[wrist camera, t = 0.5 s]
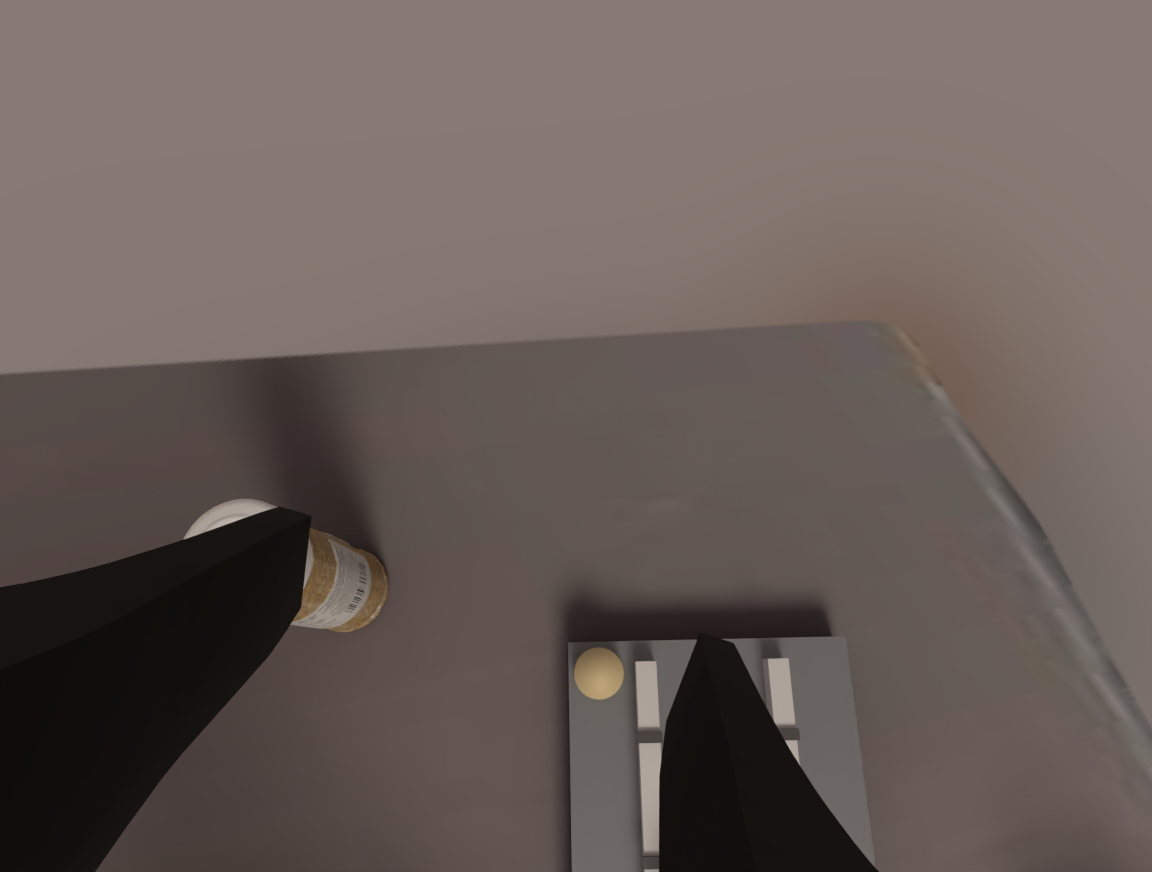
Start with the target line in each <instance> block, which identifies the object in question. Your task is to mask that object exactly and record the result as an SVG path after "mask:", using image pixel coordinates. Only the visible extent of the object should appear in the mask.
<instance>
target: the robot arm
mask: <svg viewBox="0 0 1152 872" xmlns="http://www.w3.org/2000/svg"><path fill="white" fill-rule="evenodd" d="M310 524H311V516H310V515H306V514H303V513H300V512H296V511H293V510H290V509H286V508H283V507H277V508H273V509H270V510H266V511H263V512H260V513H257V514H254V515H252V516H249V517H246V518H243V519H240V520H237V521H235V522H232V523H229V524H226V525H224V526H221V527H218V528H215V529H212V530H210V531H207V532H204V533H201V534H198V535H195V536H192V537H190V538H187V539H184V540H181V541H178V542H175V543H172V544H169V545H166V546H163V547H160V548H156V549H153V550H150V551H147V552H144V553H140V554H137V555H134V556H131V557H127V558H124V559H121V560H118V561H115V562H111V563H108V564H104V565H100V566H97V567H93V568H89V569H85V570H81V571H77V572H73V573H69V574H64V575H60V576H56V577H51V578H47V579H43V580H38V581H33V582H28V583H23V584H17V585H11V586H6V587H0V872H95V871H96V870H97V868H98V867H99V865H100V864H101V863H102V861H103V860H104V858H105V857H106V855H107V854H108V852H109V851H110V850H111V848H112V847H113V845H114V844H115V842H116V841H117V840H118V838H119V837H120V835H121V834H122V832H123V831H124V830H125V828H126V827H127V825H128V824H129V823H130V821H131V820H132V819H133V817H134V816H135V814H136V813H137V812H138V810H139V809H140V808H141V806H142V805H143V804H144V802H145V801H146V799H147V798H148V797H149V795H150V794H151V793H152V791H153V790H154V788H155V787H156V786H157V784H158V783H159V782H160V780H161V779H162V778H163V776H164V775H165V774H166V773H167V771H168V770H169V769H170V768H171V766H172V765H173V764H174V763H175V762H176V760H177V759H178V758H179V757H180V756H181V754H182V753H183V752H184V751H185V750H186V749H187V747H188V746H189V745H190V744H191V743H192V742H193V741H194V740H195V738H196V737H197V736H198V735H199V734H200V733H201V732H202V731H203V729H204V728H205V727H206V726H207V725H208V724H209V723H210V722H211V721H212V719H213V718H214V717H215V716H216V715H217V714H218V713H219V712H220V710H221V709H222V708H223V707H224V706H225V705H226V704H227V703H228V701H229V700H230V699H231V698H232V697H233V696H234V695H235V694H236V693H237V691H238V690H239V689H240V688H241V687H242V686H243V685H244V683H245V682H246V681H247V680H248V679H249V678H250V677H251V675H252V674H253V673H254V672H255V671H256V670H257V669H258V668H259V666H260V665H261V664H262V663H263V662H264V661H265V659H266V658H267V657H268V656H269V655H270V654H271V652H272V651H273V649H274V648H275V646H276V645H277V643H278V642H279V641H280V639H281V638H282V636H283V635H284V633H285V632H286V630H287V629H288V627H289V626H290V624H291V623H292V621H293V620H294V618H295V617H296V615H297V614H298V612H299V610H300V609H301V604H302V595H303V587H304V578H305V569H306V560H307V551H308V542H309V533H310ZM659 872H878V870H877V869H876V868H875V867H874V866H873V865H872V863H871V862H870V861H869V860H868V859H867V857H866V856H865V855H864V854H863V852H862V851H861V850H860V849H859V848H858V846H857V845H856V844H855V843H854V841H853V840H852V839H851V837H850V836H849V835H848V833H847V832H846V831H845V829H844V828H843V827H842V825H841V824H840V823H839V821H838V820H837V819H836V817H835V816H834V815H833V813H832V812H831V811H830V809H829V808H828V807H827V805H826V804H825V802H824V801H823V800H822V798H821V797H820V795H819V794H818V792H817V791H816V789H815V788H814V786H813V785H812V783H811V782H810V780H809V779H808V777H807V776H806V774H805V772H804V771H803V769H802V768H801V766H800V765H799V763H798V761H797V760H796V758H795V757H794V755H793V754H792V752H791V750H790V749H789V747H788V745H787V743H786V742H785V740H784V738H783V736H782V735H781V733H780V731H779V729H778V727H777V726H776V724H775V722H774V720H773V718H772V717H771V715H770V713H769V711H768V709H767V707H766V705H765V703H764V702H763V700H762V698H761V696H760V694H759V692H758V690H757V688H756V686H755V684H754V682H753V680H752V678H751V676H750V674H749V672H748V670H747V668H746V666H745V664H744V662H743V660H742V658H741V656H740V654H739V652H738V650H737V648H736V646H735V644H734V643H732V642H729V641H726V640H722V639H719V638H716V637H712V636H709V635H706V634H702V633H699V636H698V639H697V641H696V644H695V646H694V649H693V652H692V654H691V657H690V660H689V662H688V665H687V667H686V670H685V673H684V675H683V678H682V681H681V683H680V686H679V688H678V691H677V694H676V696H675V699H674V702H673V704H672V707H671V709H670V712H669V715H668V717H667V720H666V726H665V734H664V741H663V749H662V757H661V766H660V775H659Z"/></svg>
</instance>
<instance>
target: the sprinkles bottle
mask: <svg viewBox="0 0 1152 872" xmlns="http://www.w3.org/2000/svg"><path fill="white" fill-rule="evenodd" d="M273 508H277V507H276V506H274V505H271V504H269V503H266V502H263V501H260V500H255V499H236V500H231V501H227V502H224V503H222V504H219V505H217V506H215V507H213V508H211V509H210V510H208V511H207V512H205V513H204V514H203V515H202V516H200V517H199V518H198V519H197V520H196V521H195V522H194V523H193V525H192V526H191V527H190V529H189V530H188V532H187V533H186V535H185V537H184V539H187V538H190V537H192V536H195V535H198V534H201V533H204V532H207V531H210V530H212V529H215V528H218V527H221V526H224V525H226V524H229V523H232V522H235V521H237V520H240V519H243V518H246V517H249V516H252V515H254V514H257V513H260V512H263V511H266V510H270V509H273ZM184 539H183V540H184ZM387 594H388V578H387V575H386V572H385V570H384V567H383V566H382V564H381V563H380V561H379V560H378V559H377V558H376V557H375V556H374V555H372V554H371V553H368V552H366V551H364V550H362V549H355V548H353V547H352V546H350V545H349V544H348V543H346V542H344V541H342V540H340V539H338V538H336V537H334V536H332V535H330V534H327V533H324V532H320V531H318V530H316V529H313V528H311V527H310V533H309V542H308V551H307V560H306V569H305V578H304V587H303V595H302V604H301V609H300V610H299V612H298V614H297V615H296V617H295V618H294V620H293V621H292V623H291V624H290V625H296V626H304V627H312V628H322V629H324V628H328V629H329V630H332V631H336V632H352V631H354V630H357V629H360V628H362V627H364V626H366V625H367V624H369V623H370V622H371V621H372V620H374V619H375V618H376V616H377V615H378V614H379V613H380V611H381V609H382V608H383V606H384V604H385V600H386V598H387Z"/></svg>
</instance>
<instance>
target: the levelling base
mask: <svg viewBox="0 0 1152 872" xmlns="http://www.w3.org/2000/svg"><path fill="white" fill-rule="evenodd" d="M722 640H726V641H729V642H732V643H734V644H735V646H736V648H737V650H738V652H739V654H740V656H741V658H742V660H743V662H744V664H745V666H746V668H747V670H748V672H749V674H750V676H751V678H752V680H753V682H754V684H755V686H756V688H757V690H758V692H759V694H760V696H761V698H762V700H763V702H764V703H765V705H766V707H767V709H768V711H769V713H770V715H771V717H772V718H773V720H774V722H775V724H776V726H777V727H778V729H779V731H780V733H781V735H782V736H783V738H784V740H785V742H786V743H787V745H788V747H789V749H790V750H791V752H792V754H793V755H794V757H795V758H796V760H797V761H798V763H799V765H800V766H801V768H802V769H803V771H804V772H805V774H806V776H807V777H808V779H809V780H810V782H811V783H812V785H813V786H814V788H815V789H816V791H817V792H818V794H819V795H820V797H821V798H822V800H823V801H824V802H825V804H826V805H827V807H828V808H829V809H830V811H831V812H832V813H833V815H834V816H835V817H836V819H837V820H838V821H839V823H840V824H841V825H842V827H843V828H844V829H845V831H846V832H847V833H848V835H849V836H850V837H851V839H852V840H853V841H854V843H855V844H856V845H857V846H858V848H859V849H860V850H861V851H862V852H863V854H864V855H865V856H866V857H867V859H868V860H869V861H870V862H871V863H872V865H873V866H874V867H875V859H874V852H873V844H872V836H871V828H870V821H869V813H868V805H867V797H866V790H865V782H864V774H863V766H862V759H861V751H860V743H859V735H858V728H857V720H856V712H855V704H854V697H853V689H852V681H851V673H850V666H849V658H848V650H847V642H846V636H837V637H791V638H745V639H722ZM696 641H697V640H652V641H606V642H568V665H569V726H570V787H571V849H572V872H659V775H660V766H661V757H662V749H663V741H664V734H665V726H666V720H667V717H668V715H669V712H670V709H671V707H672V704H673V702H674V699H675V696H676V694H677V691H678V688H679V686H680V683H681V681H682V678H683V675H684V673H685V670H686V667H687V665H688V662H689V660H690V657H691V654H692V652H693V649H694V646H695V644H696ZM875 868H876V867H875Z"/></svg>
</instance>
